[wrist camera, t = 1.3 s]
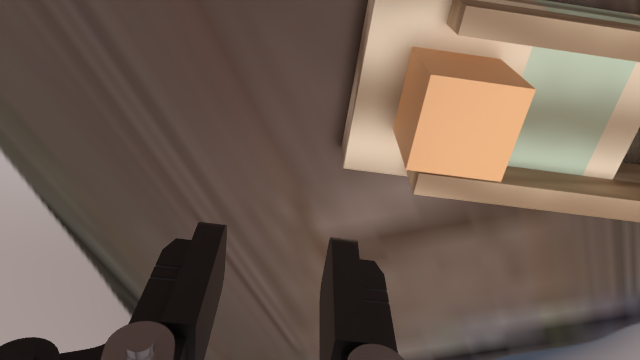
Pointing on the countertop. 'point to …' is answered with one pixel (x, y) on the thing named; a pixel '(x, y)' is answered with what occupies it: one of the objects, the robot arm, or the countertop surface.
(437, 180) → the cream tray
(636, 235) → the countertop surface
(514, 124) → the block
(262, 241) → the countertop surface
